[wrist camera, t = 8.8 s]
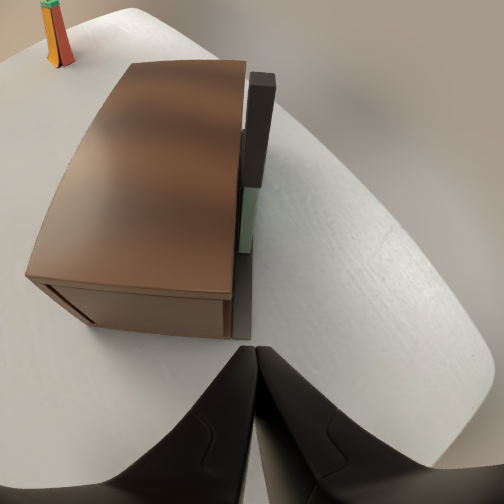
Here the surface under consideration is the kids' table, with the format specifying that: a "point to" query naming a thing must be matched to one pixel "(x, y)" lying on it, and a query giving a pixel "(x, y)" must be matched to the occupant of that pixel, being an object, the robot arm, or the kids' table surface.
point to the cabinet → (154, 208)
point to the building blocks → (56, 34)
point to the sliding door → (255, 150)
